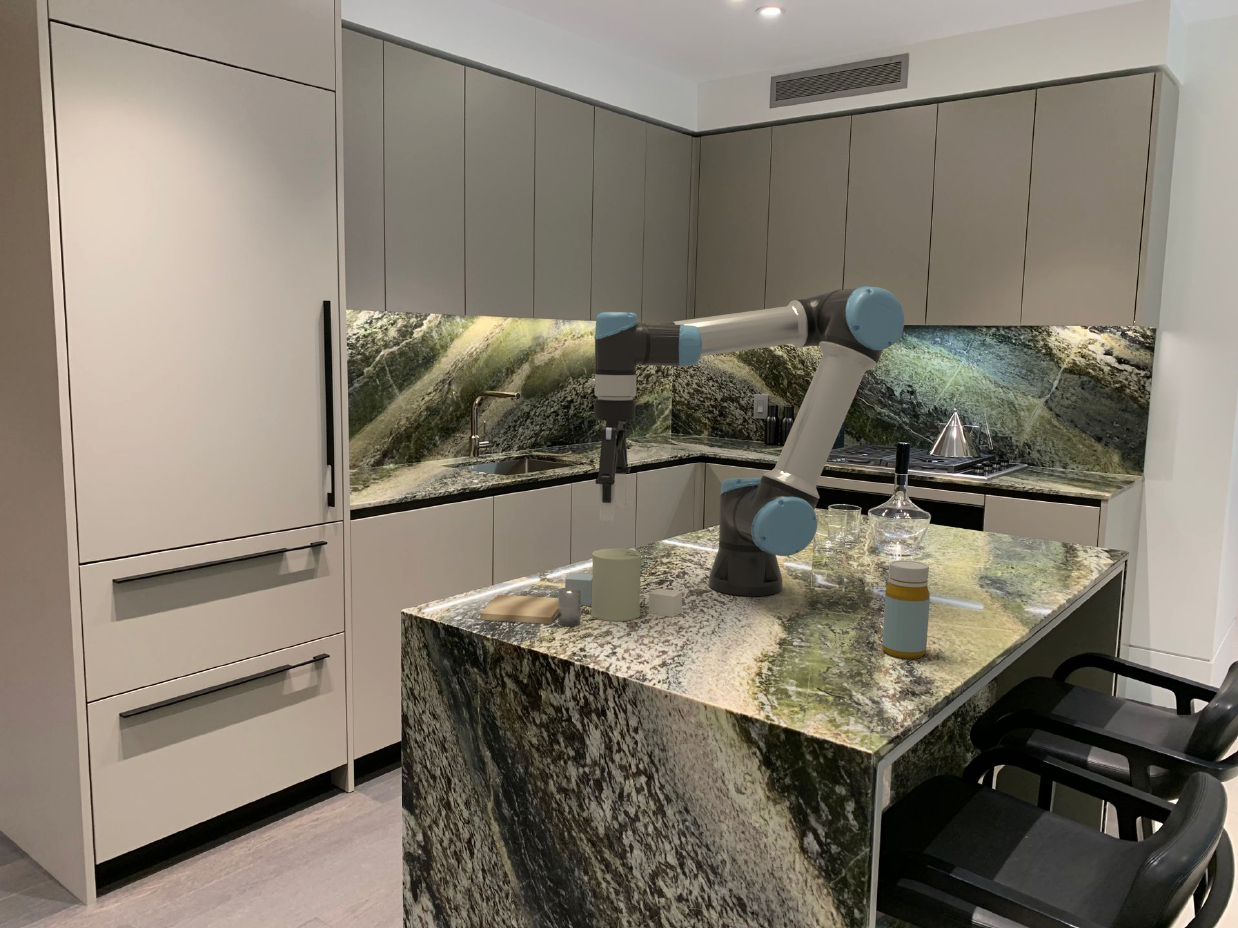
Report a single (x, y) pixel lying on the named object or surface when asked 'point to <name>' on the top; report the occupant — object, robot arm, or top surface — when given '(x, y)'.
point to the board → (521, 609)
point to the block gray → (581, 585)
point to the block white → (665, 602)
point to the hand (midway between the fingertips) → (612, 513)
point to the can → (616, 584)
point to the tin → (569, 606)
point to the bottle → (906, 610)
